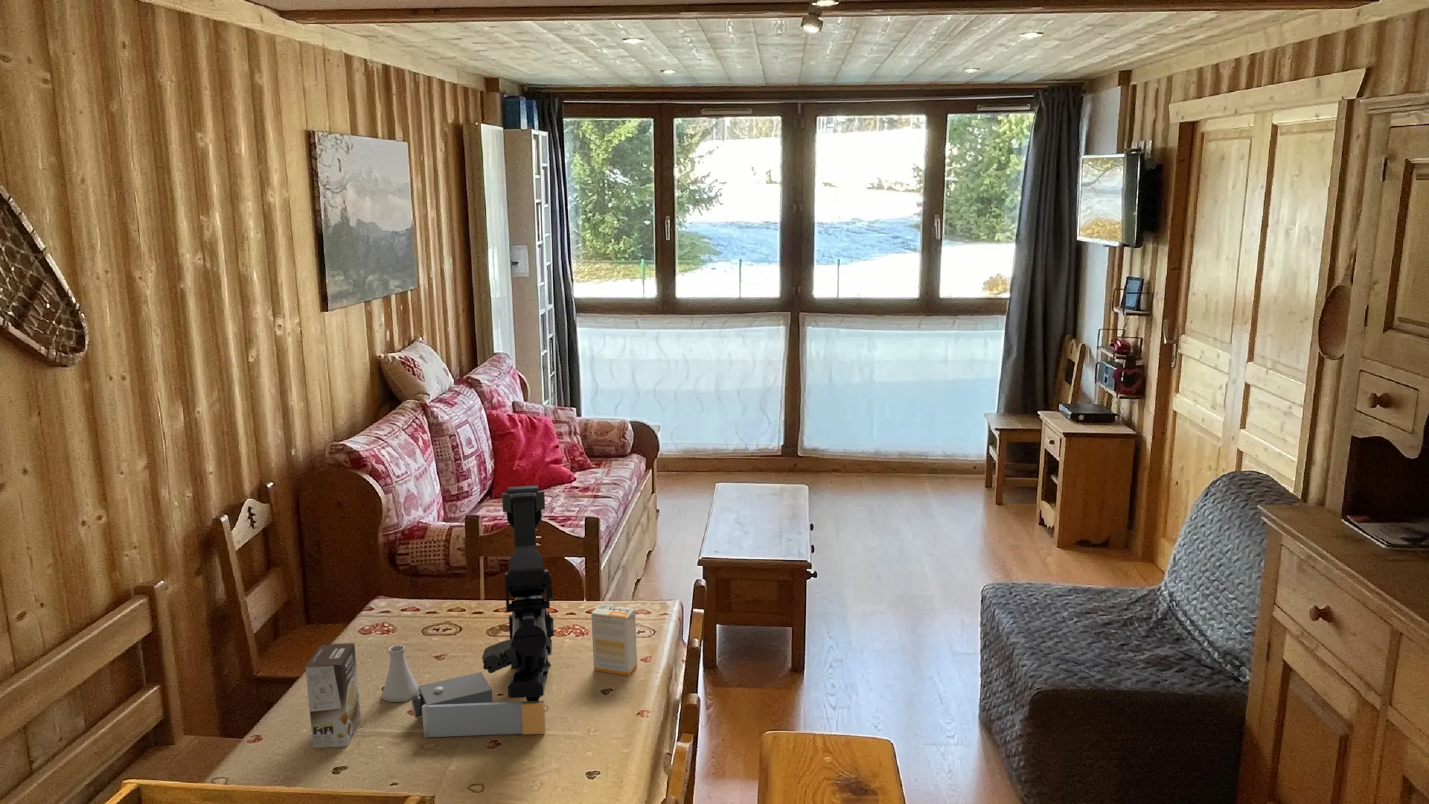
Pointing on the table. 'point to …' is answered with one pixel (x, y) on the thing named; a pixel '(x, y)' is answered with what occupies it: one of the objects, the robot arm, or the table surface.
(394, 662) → the flask
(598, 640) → the supplement box
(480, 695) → the camera housing
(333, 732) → the coffee box
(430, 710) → the side door
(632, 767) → the table surface
